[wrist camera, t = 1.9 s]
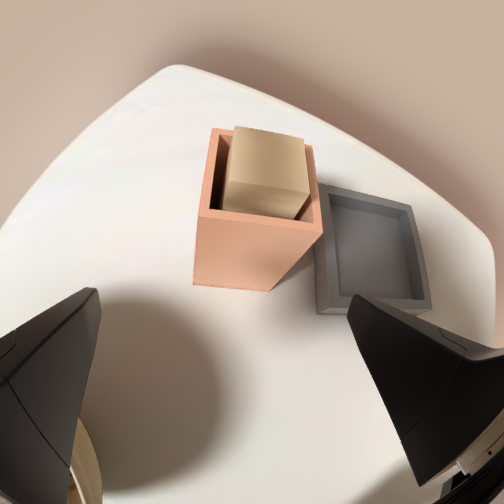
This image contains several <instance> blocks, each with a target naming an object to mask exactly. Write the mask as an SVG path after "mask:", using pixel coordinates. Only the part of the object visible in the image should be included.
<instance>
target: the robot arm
mask: <svg viewBox="0 0 504 504" xmlns="http://www.w3.org/2000/svg"><path fill="white" fill-rule="evenodd" d="M100 318H101V307H100V300H99V294H98V290H97V289H96V288H89V287H85V288H83V289H82V290H80V291H78V292H76V293H75V294H73V295H71V296H69V297H68V298H66V299H64V300H63V301H61V302H59V303H57V304H56V305H54V306H52V307H51V308H49V309H47V310H46V311H44V312H42V313H41V314H39V315H37V316H36V317H34V318H32V319H31V320H29V321H27V322H26V323H24V324H22V325H21V326H19V327H18V328H16V329H15V330H13V331H11V332H10V333H8V334H6V335H5V336H3V337H2V338H0V504H67V496H68V484H69V475H70V465H71V458H72V451H73V445H74V439H75V433H76V428H77V423H78V418H79V413H80V408H81V404H82V399H83V395H84V391H85V386H86V382H87V379H88V375H89V371H90V367H91V364H92V360H93V356H94V351H95V346H96V340H97V334H98V329H99V323H100ZM347 319H348V322H349V324H350V327H351V330H352V332H353V335H354V338H355V340H356V343H357V346H358V348H359V351H360V353H361V355H362V357H363V359H364V361H365V363H366V365H367V368H368V370H369V372H370V374H371V376H372V378H373V380H374V382H375V385H376V387H377V389H378V391H379V393H380V395H381V398H382V400H383V402H384V404H385V406H386V409H387V411H388V413H389V415H390V418H391V420H392V422H393V424H394V427H395V429H396V431H397V434H398V436H399V438H400V440H401V444H402V446H403V448H404V451H405V453H406V456H407V458H408V461H409V463H410V466H411V468H412V471H413V473H414V476H415V478H416V481H417V483H418V485H419V487H421V486H423V485H425V484H426V483H428V482H430V481H431V480H433V479H435V478H436V477H438V476H440V475H441V474H443V473H444V472H446V471H447V470H449V469H450V468H452V467H453V466H455V465H456V464H457V465H458V466H459V468H460V469H461V471H460V472H458V473H457V474H456V475H454V476H453V477H452V478H450V479H449V480H448V481H446V482H445V483H444V484H443V488H442V492H441V496H440V499H439V500H437V501H436V502H434V503H433V504H504V348H501V349H494V348H490V347H487V346H484V345H481V344H479V343H476V342H474V341H471V340H469V339H466V338H463V337H461V336H459V335H456V334H454V333H451V332H449V331H447V330H445V329H442V328H440V327H437V326H436V325H433V324H431V323H429V322H427V321H424V320H422V319H420V318H418V317H415V316H413V315H411V314H409V313H406V312H404V311H402V310H400V309H397V308H395V307H393V306H391V305H388V304H386V303H384V302H382V301H379V300H377V299H375V298H373V297H370V296H368V295H366V294H355V295H354V296H353V297H352V300H351V303H350V306H349V309H348V311H347Z"/></svg>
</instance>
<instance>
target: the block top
mask: <svg viewBox="0 0 504 504" xmlns="http://www.w3.org/2000/svg"><path fill="white" fill-rule="evenodd" d="M309 194H310V188H309V179H308V170H307V162H306V154H305V146H304V139H302V138H298V137H293V136H288V135H284V134H279V133H274V132H268V131H263V130H257V129H252V128H246V127H239V126H235V128H234V132H233V136H232V141H231V145H230V150H229V154H228V159H227V163H226V168H225V174H224V184H223V193H222V203H221V210H222V211H230V212H238V213H246V214H253V215H261V216H268V217H275V218H282V219H289V220H293V219H294V217H295V216H296V214H297V213H298V211H299V210H300V208H301V207H302V205H303V204H304V202H305V200H306V199H307V197H308V196H309Z"/></svg>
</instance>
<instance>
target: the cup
mask: <svg viewBox="0 0 504 504" xmlns="http://www.w3.org/2000/svg"><path fill="white" fill-rule="evenodd" d="M233 132H234V131H231V130H225V129H217V128H212V132H211V137H210V143H209V149H208V154H207V160H206V166H205V172H204V178H203V185H202V191H201V198H200V205H199V212H198V221H197V232H196V245H195V259H194V274H193V285H203V286H212V287H223V288H233V289H244V290H255V291H267V292H269V291H270V290H271V289H272V288H273V287H274V286H275V285H276V284H277V282H278V281H279V280H280V279H281V278H282V277H283V276H284V275H285V274H286V273H287V272H288V271H289V270H290V269H291V267H292V266H293V265H294V264H295V263H296V262H297V261H298V260H299V259H300V258H301V257H302V255H303V254H304V253H305V252H306V251H307V250H308V249H309V248H310V247H311V246H312V244H313V243H314V242H315V241H316V240H317V239H318V238H319V237H320V236H321V234H322V233H323V228H322V218H321V209H320V200H319V192H318V184H317V177H316V169H315V162H314V155H313V149H312V146H311V145H306V144H304V146H305V154H306V162H307V170H308V179H309V188H310V194H309V196H308V197H307V199H306V200H305V202H304V204H303V205H302V207H301V208H300V210H299V211H298V213H297V214H296V216H295V217H294V219H293V220H289V219H282V218H275V217H268V216H261V215H253V214H246V213H238V212H230V211H222V210H217V206H218V201H219V196H220V191H221V187H222V182H223V177H224V172H225V168H226V163H227V159H228V154H229V150H230V145H231V141H232V136H233Z"/></svg>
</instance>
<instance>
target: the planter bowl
mask: <svg viewBox="0 0 504 504" xmlns="http://www.w3.org/2000/svg"><path fill="white" fill-rule="evenodd" d="M102 493H103V492H102V479H101V473H100V467H99V463H98V459H97V456H96V453H95V450H94V447H93V444H92V442H91V439H90V437H89V435H88V433H87V431H86V429H85V427H84V425H83V423H82V421H81V420H80V418H78V423H77V428H76V433H75V439H74V445H73V451H72V458H71V465H70V475H69V484H68V496H67V504H102Z"/></svg>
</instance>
